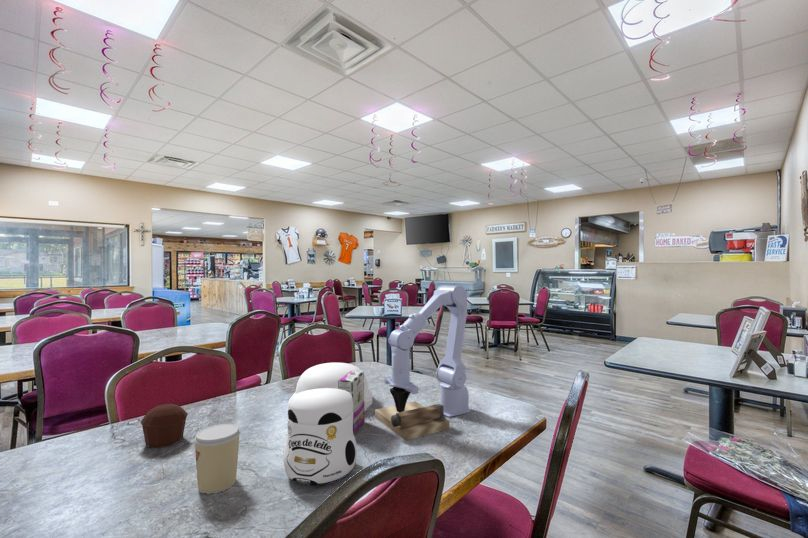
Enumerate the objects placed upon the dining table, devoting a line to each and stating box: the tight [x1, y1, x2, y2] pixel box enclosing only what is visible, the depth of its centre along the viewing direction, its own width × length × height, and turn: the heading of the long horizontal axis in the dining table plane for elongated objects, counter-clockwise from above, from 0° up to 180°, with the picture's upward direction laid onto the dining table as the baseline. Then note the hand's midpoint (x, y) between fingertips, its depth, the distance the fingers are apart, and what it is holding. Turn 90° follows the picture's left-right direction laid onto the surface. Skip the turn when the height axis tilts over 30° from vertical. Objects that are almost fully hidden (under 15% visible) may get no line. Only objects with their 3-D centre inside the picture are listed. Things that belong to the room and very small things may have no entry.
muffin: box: [140, 403, 189, 449], centre depth 105 cm, size 12×11×10 cm
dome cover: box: [292, 362, 373, 412], centre depth 136 cm, size 32×30×14 cm
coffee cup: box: [193, 423, 241, 495], centre depth 83 cm, size 9×9×12 cm
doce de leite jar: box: [282, 388, 358, 487], centre depth 88 cm, size 17×17×18 cm
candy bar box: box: [338, 370, 365, 435], centre depth 113 cm, size 11×5×16 cm, turn 168°
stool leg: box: [391, 403, 445, 427], centre depth 111 cm, size 18×3×3 cm, turn 120°
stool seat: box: [374, 401, 450, 441], centre depth 117 cm, size 16×20×3 cm
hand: (400, 411), depth 115 cm, fingers closed
